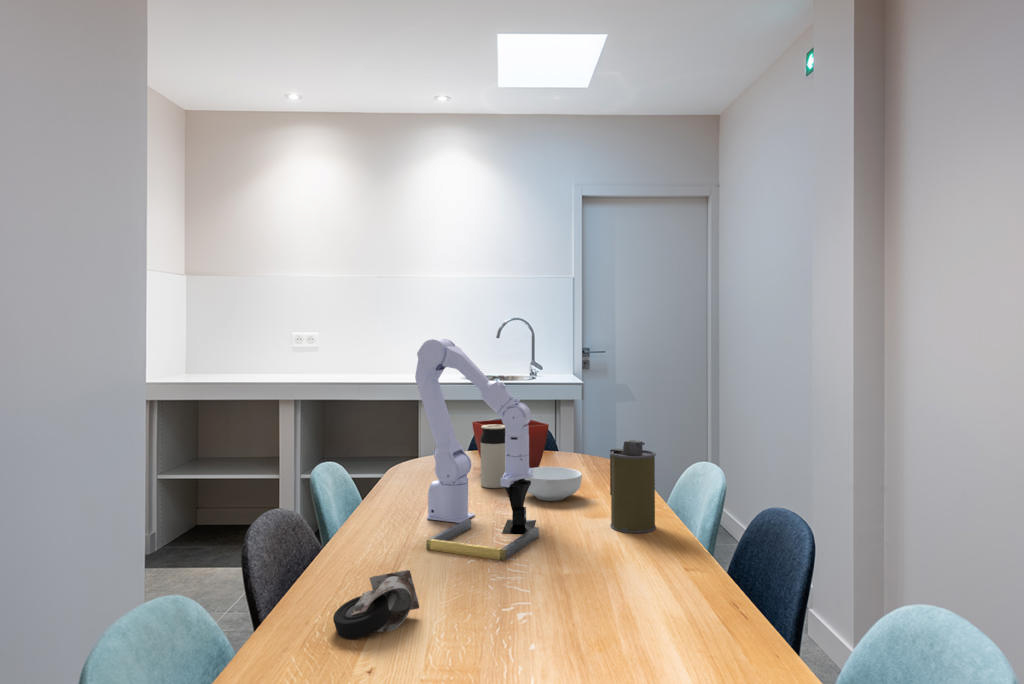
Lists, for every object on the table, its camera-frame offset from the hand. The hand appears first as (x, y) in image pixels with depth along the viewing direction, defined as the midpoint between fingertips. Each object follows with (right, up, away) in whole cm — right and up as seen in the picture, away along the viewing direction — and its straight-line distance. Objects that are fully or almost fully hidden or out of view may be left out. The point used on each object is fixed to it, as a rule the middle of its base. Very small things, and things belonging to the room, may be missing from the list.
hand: (517, 511), depth 162 cm
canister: (+27, -3, -4) cm, 27 cm away
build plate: (0, -3, -3) cm, 5 cm away
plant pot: (-2, -3, +59) cm, 59 cm away
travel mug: (-7, -3, +41) cm, 42 cm away
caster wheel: (-22, -3, -59) cm, 63 cm away
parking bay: (-7, -3, -15) cm, 17 cm away
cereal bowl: (+10, -3, +26) cm, 28 cm away
